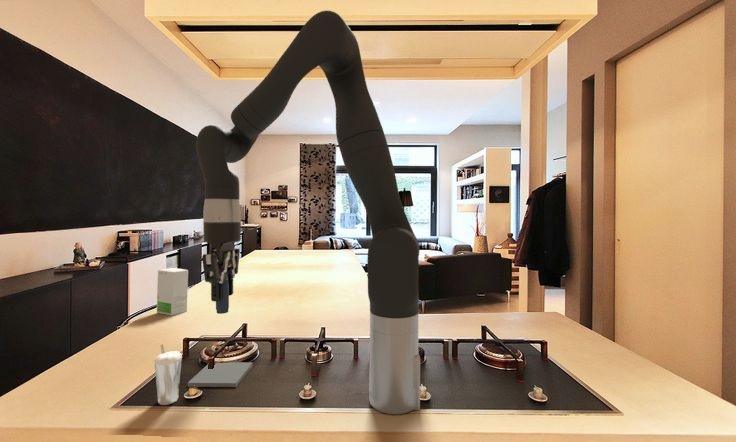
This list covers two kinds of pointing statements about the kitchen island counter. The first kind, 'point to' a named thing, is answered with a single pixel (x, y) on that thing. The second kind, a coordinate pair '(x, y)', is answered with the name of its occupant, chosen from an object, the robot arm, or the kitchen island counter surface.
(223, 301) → the vaping device
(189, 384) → the charcoal mat
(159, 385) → the milkshake
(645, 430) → the kitchen island counter surface
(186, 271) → the skincare box
